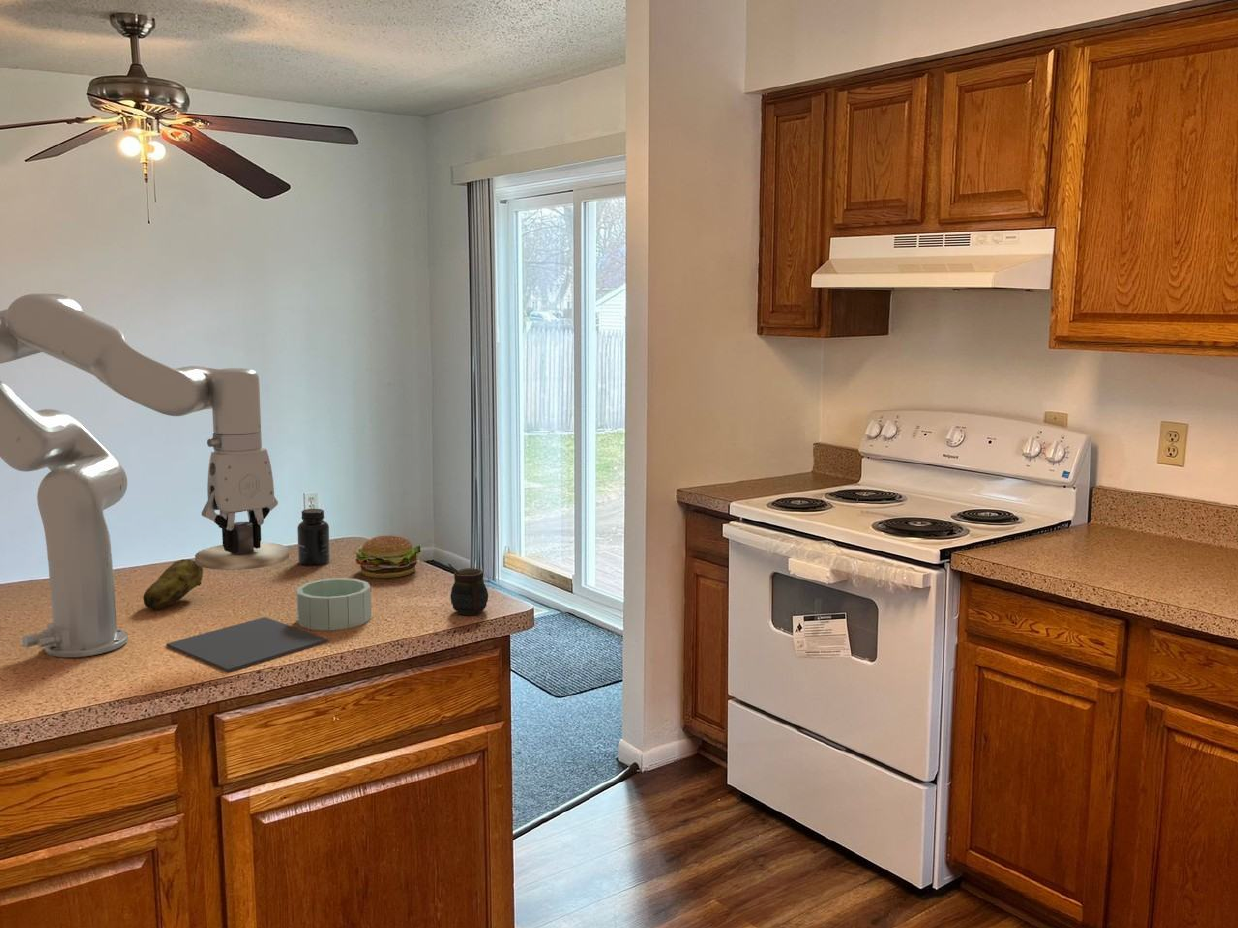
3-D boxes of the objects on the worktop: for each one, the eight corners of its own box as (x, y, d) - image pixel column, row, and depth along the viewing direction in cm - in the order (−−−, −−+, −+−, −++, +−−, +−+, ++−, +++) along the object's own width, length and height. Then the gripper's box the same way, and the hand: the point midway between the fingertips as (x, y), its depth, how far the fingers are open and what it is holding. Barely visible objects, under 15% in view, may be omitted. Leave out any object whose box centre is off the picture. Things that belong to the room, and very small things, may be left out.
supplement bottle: (292, 565, 226) (290, 512, 224) (307, 557, 233) (305, 506, 231) (321, 567, 225) (319, 514, 223) (335, 559, 232) (333, 508, 230)
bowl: (326, 635, 181) (325, 602, 180) (283, 620, 188) (282, 589, 187) (384, 617, 191) (384, 586, 190) (341, 604, 199) (340, 574, 198)
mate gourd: (495, 613, 194) (494, 563, 192) (457, 620, 190) (456, 568, 188) (479, 604, 200) (478, 554, 198) (443, 610, 196) (442, 560, 194)
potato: (130, 606, 196) (127, 566, 194) (193, 592, 205) (191, 553, 204) (151, 615, 190) (148, 574, 189) (215, 600, 200) (213, 560, 199)
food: (344, 579, 216) (343, 543, 214) (369, 563, 230) (368, 528, 228) (406, 583, 214) (406, 546, 213) (428, 566, 228) (427, 531, 226)
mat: (228, 672, 162) (228, 669, 162) (166, 646, 174) (166, 643, 174) (327, 641, 177) (327, 638, 177) (265, 619, 189) (264, 616, 189)
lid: (227, 575, 163) (225, 538, 162) (177, 559, 172) (175, 524, 171) (307, 557, 174) (305, 523, 173) (256, 543, 183) (255, 510, 182)
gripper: (203, 450, 161) (209, 562, 164) (294, 440, 174) (297, 544, 177) (178, 445, 166) (184, 554, 169) (268, 435, 179) (272, 537, 182)
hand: (242, 548), depth 173 cm, fingers closed on lid, 3 cm apart
